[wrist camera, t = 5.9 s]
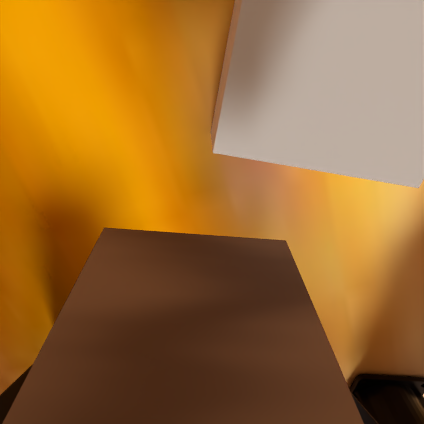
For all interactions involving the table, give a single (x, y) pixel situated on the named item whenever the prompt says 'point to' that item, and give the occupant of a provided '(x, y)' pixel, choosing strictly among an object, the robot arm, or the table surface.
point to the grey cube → (186, 339)
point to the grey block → (325, 87)
